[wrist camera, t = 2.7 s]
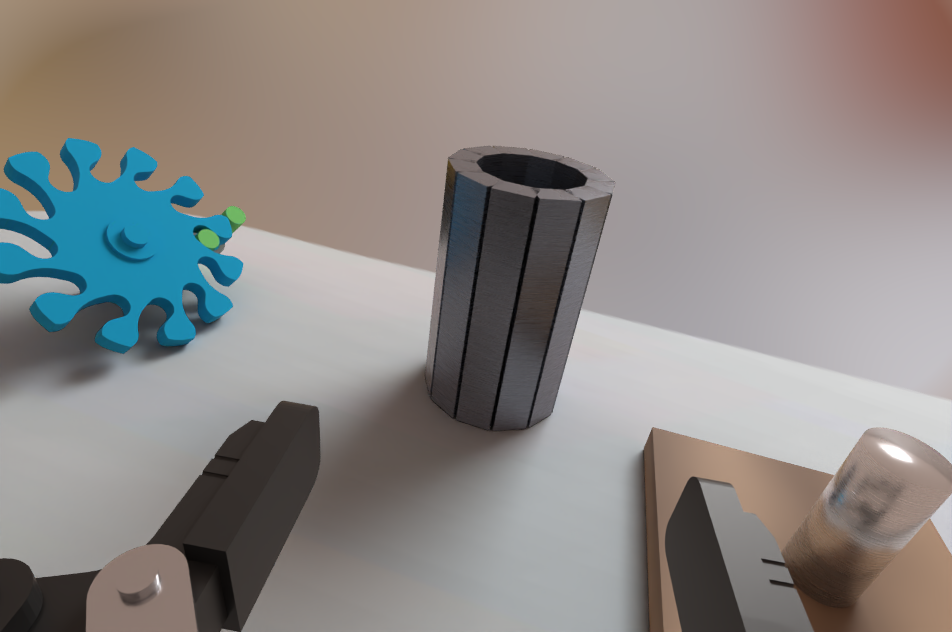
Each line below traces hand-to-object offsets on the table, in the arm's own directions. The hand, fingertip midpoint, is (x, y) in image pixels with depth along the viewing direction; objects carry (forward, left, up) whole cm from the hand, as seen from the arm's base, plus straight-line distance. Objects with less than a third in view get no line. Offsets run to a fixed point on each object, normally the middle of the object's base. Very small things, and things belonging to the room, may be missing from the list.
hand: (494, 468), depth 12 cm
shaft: (+10, -6, -5) cm, 13 cm away
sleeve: (+9, +7, -7) cm, 13 cm away
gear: (-2, +21, -7) cm, 22 cm away
